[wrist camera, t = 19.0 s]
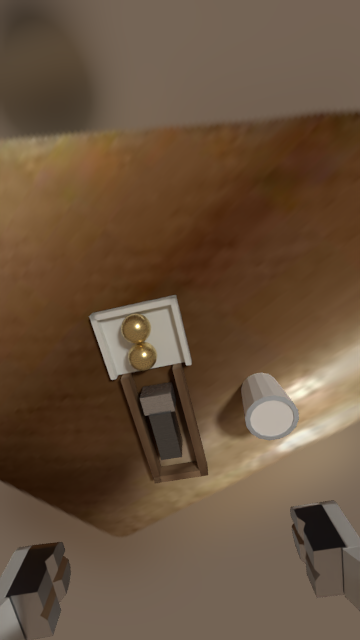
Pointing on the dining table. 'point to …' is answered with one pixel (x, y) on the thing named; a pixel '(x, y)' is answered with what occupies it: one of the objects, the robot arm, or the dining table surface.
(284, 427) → the white cup
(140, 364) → the brass sphere
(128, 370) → the tray
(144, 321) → the shiny gold ball
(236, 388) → the dining table surface
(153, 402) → the long gray brick
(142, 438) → the slot rail
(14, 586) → the robot arm
